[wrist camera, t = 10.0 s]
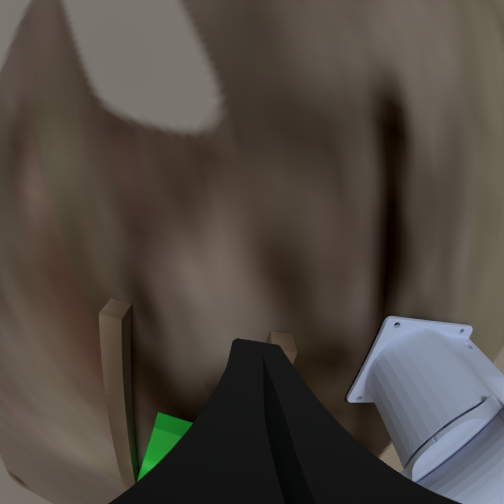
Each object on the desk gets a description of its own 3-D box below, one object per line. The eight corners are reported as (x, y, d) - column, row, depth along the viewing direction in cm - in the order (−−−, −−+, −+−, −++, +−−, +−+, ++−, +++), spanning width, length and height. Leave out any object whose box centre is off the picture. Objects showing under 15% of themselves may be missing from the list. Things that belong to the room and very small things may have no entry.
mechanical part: (192, 482, 26) (186, 540, 19) (140, 467, 25) (126, 525, 18) (227, 429, 23) (225, 508, 15) (158, 410, 22) (139, 489, 14)
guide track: (292, 334, 19) (299, 363, 16) (228, 495, 27) (228, 515, 24) (110, 298, 18) (92, 322, 15) (127, 476, 26) (122, 496, 23)
